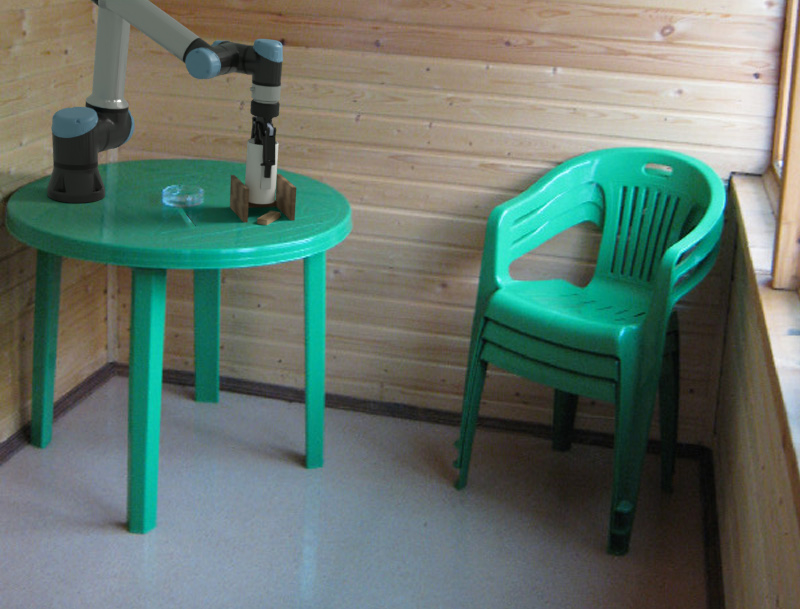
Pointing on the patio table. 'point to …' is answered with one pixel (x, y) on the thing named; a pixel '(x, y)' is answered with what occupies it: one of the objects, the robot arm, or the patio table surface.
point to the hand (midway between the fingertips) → (260, 184)
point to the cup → (259, 174)
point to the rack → (283, 203)
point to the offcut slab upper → (268, 218)
